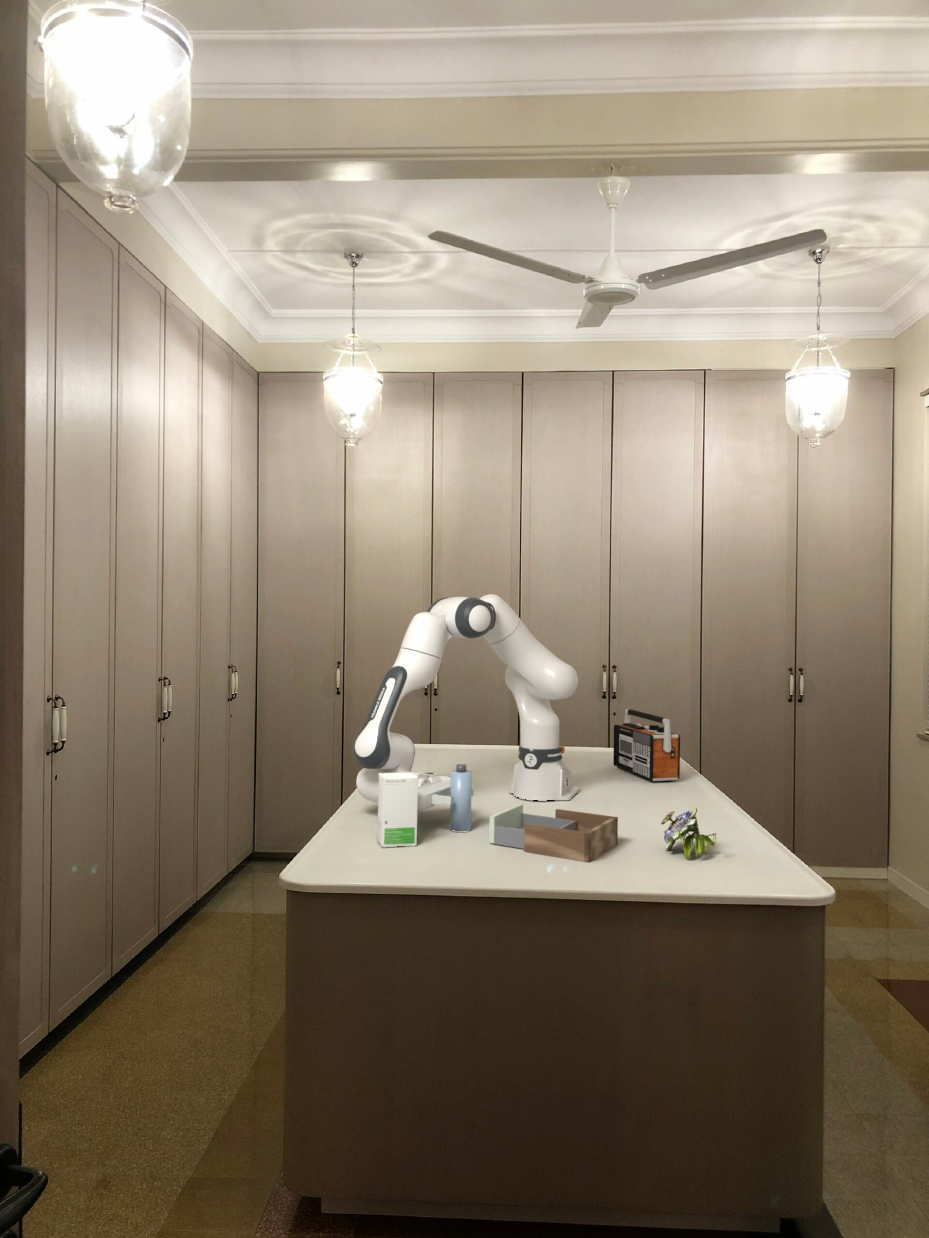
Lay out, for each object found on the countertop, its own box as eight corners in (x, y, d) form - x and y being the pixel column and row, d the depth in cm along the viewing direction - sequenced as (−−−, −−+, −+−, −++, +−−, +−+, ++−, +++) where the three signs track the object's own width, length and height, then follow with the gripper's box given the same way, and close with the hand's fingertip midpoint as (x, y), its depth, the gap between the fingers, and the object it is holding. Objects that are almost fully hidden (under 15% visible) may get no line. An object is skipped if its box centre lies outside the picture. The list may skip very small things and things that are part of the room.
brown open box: (556, 834, 203) (557, 808, 203) (617, 843, 195) (617, 817, 195) (524, 851, 188) (524, 824, 188) (588, 862, 180) (588, 833, 180)
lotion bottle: (457, 826, 210) (457, 762, 209) (474, 828, 207) (475, 764, 207) (446, 830, 205) (446, 765, 205) (464, 833, 203) (465, 767, 203)
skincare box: (381, 848, 189) (381, 778, 189) (376, 840, 196) (376, 772, 196) (418, 846, 192) (419, 776, 191) (412, 838, 198) (413, 771, 198)
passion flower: (669, 875, 190) (656, 824, 197) (718, 867, 189) (703, 816, 196) (671, 859, 180) (658, 805, 187) (723, 850, 180) (707, 797, 187)
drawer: (518, 829, 206) (518, 803, 206) (576, 838, 199) (576, 811, 199) (489, 843, 194) (489, 816, 194) (549, 853, 186) (550, 824, 186)
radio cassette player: (611, 767, 291) (612, 708, 291) (639, 766, 294) (640, 708, 294) (652, 784, 263) (653, 719, 263) (682, 783, 266) (683, 718, 265)
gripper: (390, 784, 204) (439, 791, 197) (436, 771, 222) (482, 776, 215) (389, 811, 204) (439, 818, 197) (435, 795, 222) (482, 801, 215)
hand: (462, 796), depth 206 cm, fingers open, 8 cm apart
